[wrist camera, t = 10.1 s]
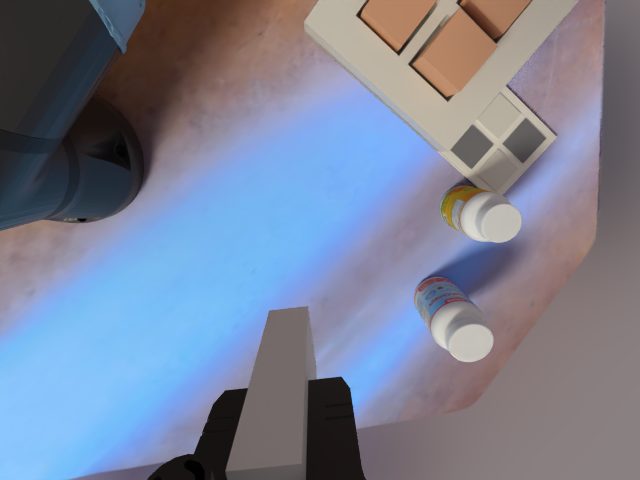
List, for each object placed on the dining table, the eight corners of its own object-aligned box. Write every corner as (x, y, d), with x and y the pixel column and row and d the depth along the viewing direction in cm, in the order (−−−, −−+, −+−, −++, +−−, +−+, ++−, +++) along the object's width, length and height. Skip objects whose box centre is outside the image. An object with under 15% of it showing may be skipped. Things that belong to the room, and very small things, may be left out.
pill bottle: (454, 271, 44) (500, 311, 33) (458, 311, 46) (502, 363, 35) (409, 279, 44) (440, 322, 33) (414, 319, 46) (445, 373, 35)
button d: (358, 22, 35) (362, 9, 31) (389, -22, 34) (398, -40, 30) (393, 55, 35) (401, 46, 32) (425, 14, 34) (437, 0, 31)
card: (436, 151, 40) (438, 151, 39) (497, 80, 38) (500, 79, 37) (493, 202, 41) (496, 203, 41) (554, 137, 39) (558, 137, 39)
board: (305, 33, 36) (304, 21, 33) (431, -149, 32) (445, -185, 28) (436, 151, 40) (448, 151, 36) (565, 1, 36) (592, -15, 32)
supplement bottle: (486, 188, 41) (537, 200, 32) (474, 230, 42) (519, 253, 33) (445, 181, 41) (484, 191, 31) (434, 223, 42) (468, 245, 33)
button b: (412, 64, 34) (422, 55, 31) (445, 21, 33) (460, 7, 30) (446, 97, 35) (460, 91, 32) (480, 56, 34) (498, 46, 31)
